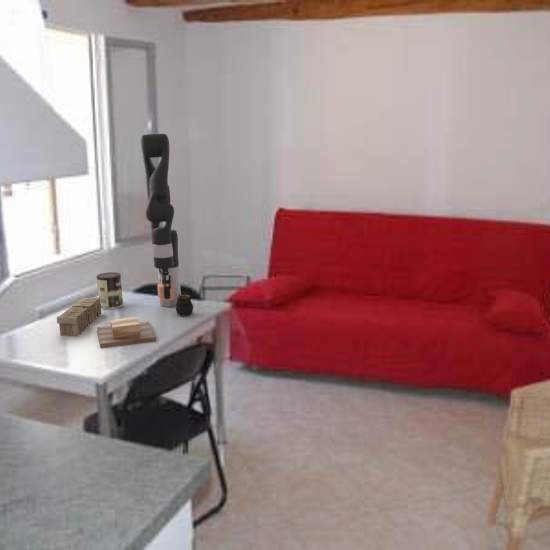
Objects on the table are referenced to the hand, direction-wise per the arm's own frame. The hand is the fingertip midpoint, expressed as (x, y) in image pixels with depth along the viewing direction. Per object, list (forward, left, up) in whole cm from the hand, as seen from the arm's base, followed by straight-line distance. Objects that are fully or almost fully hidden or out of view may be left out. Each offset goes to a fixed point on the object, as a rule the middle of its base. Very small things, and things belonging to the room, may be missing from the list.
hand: (166, 296), depth 258 cm
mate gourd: (-12, +9, -12) cm, 19 cm away
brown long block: (-15, -33, -12) cm, 38 cm away
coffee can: (-38, -19, -12) cm, 44 cm away
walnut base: (+6, -17, -12) cm, 22 cm away
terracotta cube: (0, 0, -1) cm, 1 cm away
